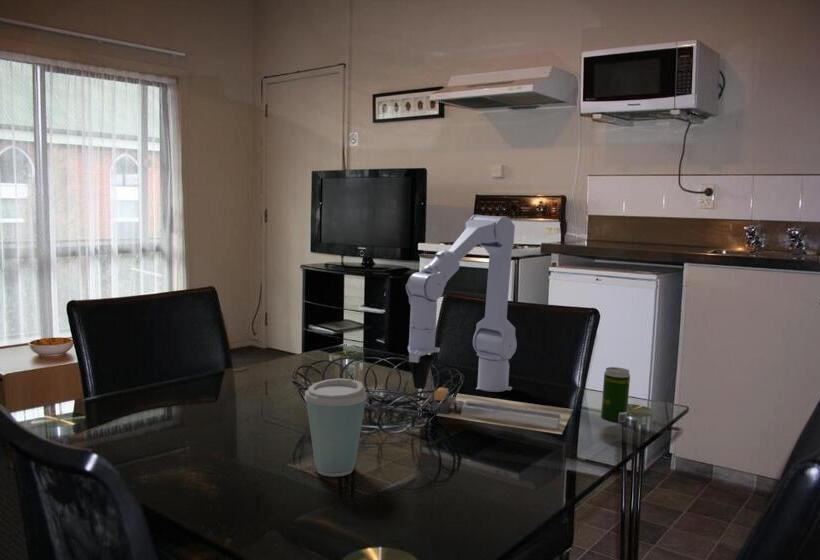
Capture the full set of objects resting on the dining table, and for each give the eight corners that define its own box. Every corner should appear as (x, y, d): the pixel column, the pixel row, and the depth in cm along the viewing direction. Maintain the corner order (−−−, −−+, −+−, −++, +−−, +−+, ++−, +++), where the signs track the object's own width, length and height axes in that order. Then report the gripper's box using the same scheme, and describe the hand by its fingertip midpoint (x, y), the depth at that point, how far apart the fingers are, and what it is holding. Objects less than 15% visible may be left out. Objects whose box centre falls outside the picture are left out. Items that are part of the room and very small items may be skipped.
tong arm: (456, 407, 157) (457, 398, 157) (560, 422, 150) (560, 412, 150) (453, 411, 154) (453, 402, 154) (558, 426, 147) (558, 416, 147)
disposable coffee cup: (339, 487, 115) (342, 396, 113) (288, 471, 120) (290, 385, 119) (376, 468, 124) (380, 383, 122) (327, 454, 129) (330, 373, 128)
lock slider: (439, 395, 158) (439, 387, 158) (448, 396, 157) (448, 388, 157) (434, 399, 154) (434, 391, 154) (442, 400, 154) (443, 392, 153)
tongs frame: (440, 405, 159) (440, 395, 159) (560, 423, 150) (561, 411, 150) (432, 412, 154) (432, 401, 154) (556, 430, 145) (557, 419, 145)
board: (453, 398, 170) (454, 393, 170) (572, 414, 161) (573, 409, 161) (429, 419, 152) (429, 414, 152) (561, 439, 143) (561, 434, 143)
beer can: (631, 424, 155) (635, 371, 154) (616, 429, 152) (620, 374, 150) (610, 418, 159) (614, 365, 158) (595, 422, 156) (599, 368, 155)
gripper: (433, 334, 148) (430, 398, 149) (447, 323, 162) (443, 382, 163) (400, 331, 149) (397, 394, 151) (417, 321, 163) (414, 378, 165)
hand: (419, 387), depth 157 cm, fingers closed
